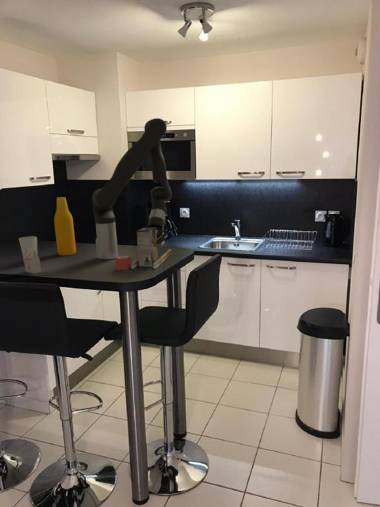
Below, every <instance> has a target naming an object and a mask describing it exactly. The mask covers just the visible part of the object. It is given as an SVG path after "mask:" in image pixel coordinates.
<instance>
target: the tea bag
mask: <svg viewBox="0 0 380 507" xmlns="http://www.w3.org/2000/svg"><path fill="white" fill-rule="evenodd" d="M23 264H24V270H25V273H29V274H31V275H34V274H39V273H42V266H41V259H40V257H39V255H38V253H37V254H36V252H35V250H31V249H26V253H25V256H24V259H23Z"/></svg>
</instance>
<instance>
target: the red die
mask: <svg viewBox="0 0 380 507" xmlns="http://www.w3.org/2000/svg"><path fill="white" fill-rule="evenodd" d="M114 259H115V260H114V261H115V262H114V263H115V270H116V271H128V270H129V269H131V263H132V261H131V256H130V255H118V257H117V258H114Z"/></svg>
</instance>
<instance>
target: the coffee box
mask: <svg viewBox="0 0 380 507" xmlns="http://www.w3.org/2000/svg"><path fill="white" fill-rule="evenodd" d="M136 242H137V256H138V258H139V265H138V267H152V268H153V264H154V263H155V262H156V261H157V260H158V259H159V249H158V246H159V245H158V244H157V231H156V227H148V226H146V227H142V228H140V229H138V230H136ZM138 258H137V259H138Z"/></svg>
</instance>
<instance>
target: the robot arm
mask: <svg viewBox="0 0 380 507" xmlns="http://www.w3.org/2000/svg"><path fill="white" fill-rule="evenodd" d="M167 126H168V125H167V123H166V121H165V120H164V119H162V118H159V117H157V118H152V119H149V120H148V121H146V122H145V124H144V128H143V129H144V131H143V134H142V136H141V137H140V138H139V139H138V140H137V141H136V142H135V143H134V144H133V145H132V146H131V147H129V148H128V150H127V151H126V152H125V153H124V155H123V156H122V157H121V158H120V160H119V161H118V163H117V165H116V167H114V168H115V169H114V170H113V173H112V175H111V177H110V179H109V180H108V182H106V183H105V185H104V186H103V187H102V188H98V189H96V190H95V191H94V192H93V194H92V208H93V216H94V221H95V228H96V238H95V248H96V258H97V259H98V260H112V259H115V258H117V257H118V256H119V251H118V238H117V229H116V228H117V227H116V216H115V214H114V209H113V206H114V205H115V203H116V201H117V199H118V197H119V195H120V194H121V192H122V191H123V189H124V188H125V187H126V185H127V184H128V183H129V182H130V180H131V179H132V178H133V177H134V176H135V174H136V173H137V171H139V169H140V167H141V166H142V164H143V163H144V162H145V160H146V159H147V157H148V156H149V157H150V165H151V173H152V176H151V177H152V181H153V182H154V183H159V184H161V185H162V186H157V187H153V188H152V189H151V191H150V197H151V198H150V199H151V210H150V214H149V217H148V223H147V227H156V231H157V246H159V245H161V244H162V243H163V242H164V241H165V240H166V239H168V234H167V232H165V231H164V227H165V222H166V212H167V211H166V210H167V204H166V202H168V201H169V202H170V200H172V197H173V191H172V189H171V187H170V182H169V181H168V174H167V166H166V161H165V158H164V154H163V152H162V147H161V140H162V138H164V136H165V135H166V133H167V129H168V127H167Z"/></svg>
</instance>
